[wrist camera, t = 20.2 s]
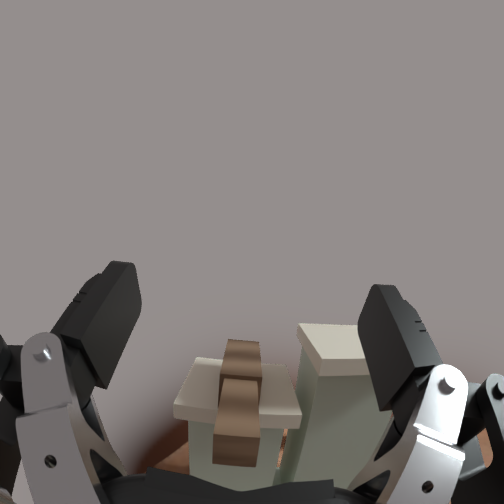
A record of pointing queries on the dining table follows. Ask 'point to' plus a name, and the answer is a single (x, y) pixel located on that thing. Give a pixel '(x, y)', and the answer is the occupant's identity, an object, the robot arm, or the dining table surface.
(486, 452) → the dining table surface
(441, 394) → the robot arm
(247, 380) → the walnut leg
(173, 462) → the dining table surface
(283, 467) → the step stand
